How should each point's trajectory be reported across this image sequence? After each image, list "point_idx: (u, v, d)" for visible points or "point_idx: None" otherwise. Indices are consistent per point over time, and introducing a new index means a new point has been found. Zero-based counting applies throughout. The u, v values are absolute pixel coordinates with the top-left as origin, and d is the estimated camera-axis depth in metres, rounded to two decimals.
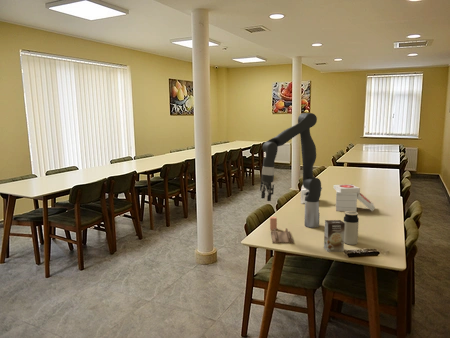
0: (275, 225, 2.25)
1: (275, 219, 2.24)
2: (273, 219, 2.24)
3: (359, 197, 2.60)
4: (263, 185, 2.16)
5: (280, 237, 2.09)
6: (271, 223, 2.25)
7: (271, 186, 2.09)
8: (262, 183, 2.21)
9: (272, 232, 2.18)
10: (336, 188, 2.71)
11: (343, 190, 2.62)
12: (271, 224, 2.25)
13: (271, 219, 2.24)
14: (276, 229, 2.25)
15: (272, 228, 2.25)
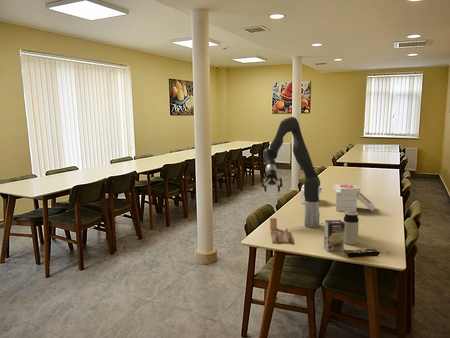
0: (275, 225, 2.25)
1: (275, 219, 2.24)
2: (273, 219, 2.24)
3: (359, 197, 2.60)
4: None
5: (280, 237, 2.09)
6: (271, 223, 2.25)
7: None
8: None
9: (272, 232, 2.18)
10: (336, 188, 2.71)
11: (343, 190, 2.62)
12: (271, 224, 2.25)
13: (271, 219, 2.24)
14: (276, 229, 2.25)
15: (272, 228, 2.25)
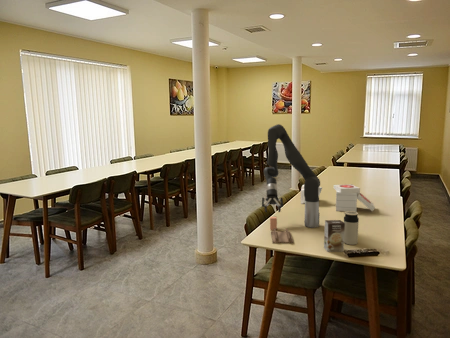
0: (275, 225, 2.25)
1: (275, 219, 2.24)
2: (273, 219, 2.24)
3: (359, 197, 2.60)
4: None
5: (280, 237, 2.09)
6: (271, 223, 2.25)
7: (262, 199, 2.38)
8: None
9: (272, 232, 2.18)
10: (336, 188, 2.71)
11: (343, 190, 2.62)
12: (271, 224, 2.25)
13: (271, 219, 2.24)
14: (276, 229, 2.25)
15: (272, 228, 2.25)
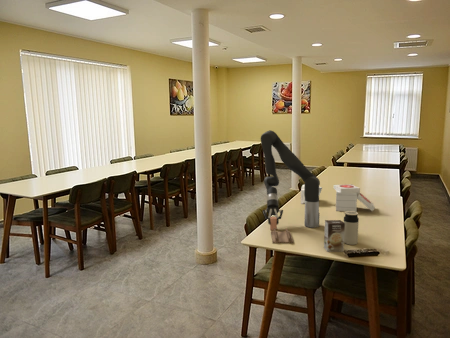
0: (275, 225, 2.25)
1: (275, 219, 2.24)
2: (273, 219, 2.24)
3: (359, 197, 2.60)
4: None
5: (280, 237, 2.09)
6: (271, 223, 2.25)
7: (263, 212, 2.31)
8: None
9: (272, 232, 2.18)
10: (336, 188, 2.71)
11: (343, 190, 2.62)
12: (271, 224, 2.25)
13: (271, 219, 2.24)
14: (276, 229, 2.25)
15: (272, 228, 2.25)
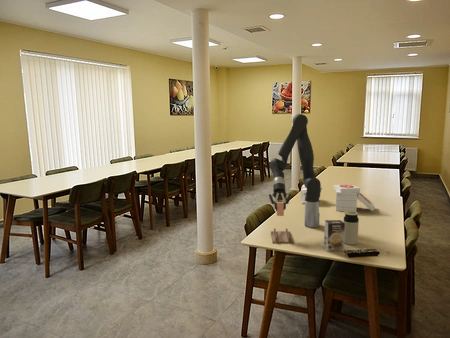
0: (282, 210, 2.08)
1: (282, 204, 2.08)
2: (280, 204, 2.08)
3: (359, 197, 2.60)
4: None
5: (280, 237, 2.09)
6: (278, 208, 2.09)
7: (269, 197, 2.15)
8: None
9: (272, 232, 2.18)
10: (336, 188, 2.71)
11: (343, 190, 2.62)
12: (277, 209, 2.09)
13: (278, 204, 2.08)
14: (283, 214, 2.09)
15: (279, 213, 2.09)
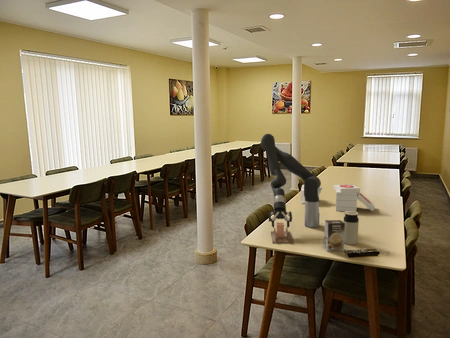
0: (282, 232, 2.08)
1: (282, 225, 2.08)
2: (280, 225, 2.08)
3: (359, 197, 2.60)
4: None
5: None
6: (278, 230, 2.08)
7: None
8: None
9: (272, 232, 2.18)
10: (336, 188, 2.71)
11: (343, 190, 2.62)
12: (277, 231, 2.08)
13: (278, 225, 2.08)
14: (283, 236, 2.08)
15: (279, 235, 2.09)
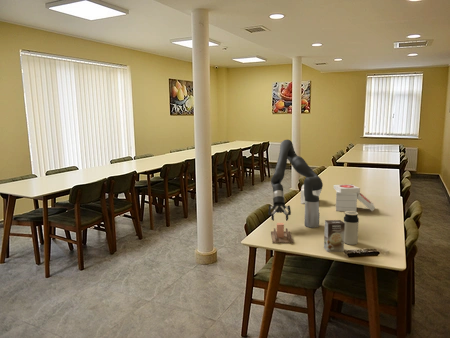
0: (282, 232, 2.08)
1: (282, 225, 2.08)
2: (280, 225, 2.08)
3: (359, 197, 2.60)
4: None
5: None
6: (278, 230, 2.08)
7: None
8: None
9: (272, 232, 2.18)
10: (336, 188, 2.71)
11: (343, 190, 2.62)
12: (277, 231, 2.08)
13: (278, 225, 2.08)
14: (283, 236, 2.08)
15: (279, 235, 2.09)
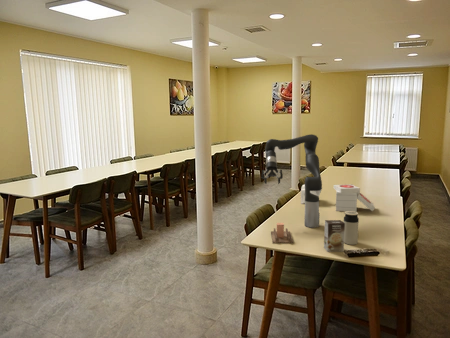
0: (282, 232, 2.08)
1: (282, 225, 2.08)
2: (280, 225, 2.08)
3: (359, 197, 2.60)
4: None
5: None
6: (278, 230, 2.08)
7: None
8: None
9: (272, 232, 2.18)
10: (336, 188, 2.71)
11: (343, 190, 2.62)
12: (277, 231, 2.08)
13: (278, 225, 2.08)
14: (283, 236, 2.08)
15: (279, 235, 2.09)
